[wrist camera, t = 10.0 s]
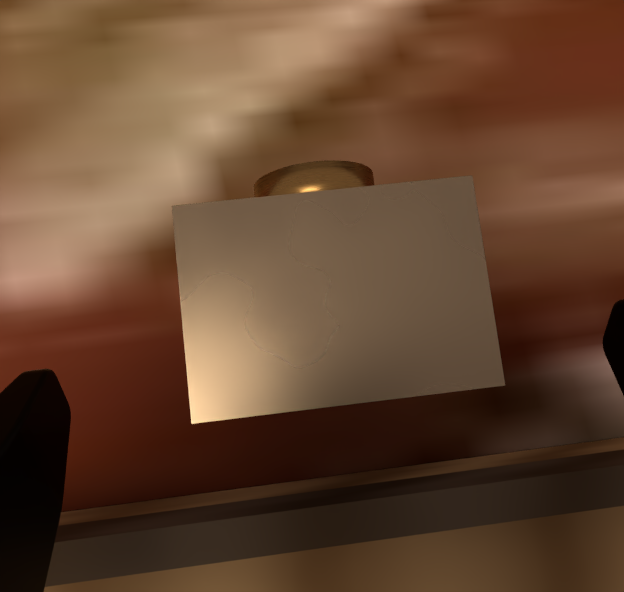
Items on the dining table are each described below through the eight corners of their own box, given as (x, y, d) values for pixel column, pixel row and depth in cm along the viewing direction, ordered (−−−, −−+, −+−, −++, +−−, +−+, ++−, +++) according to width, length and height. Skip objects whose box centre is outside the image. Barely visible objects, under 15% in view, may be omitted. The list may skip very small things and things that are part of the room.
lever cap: (393, 380, 19) (505, 385, 10) (240, 398, 19) (191, 424, 9) (376, 251, 20) (465, 130, 10) (227, 267, 20) (167, 159, 10)
